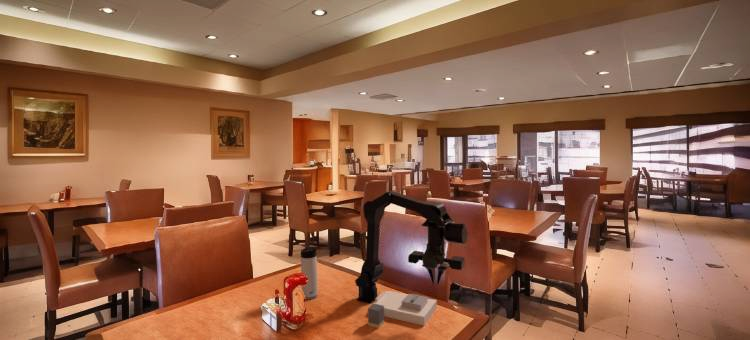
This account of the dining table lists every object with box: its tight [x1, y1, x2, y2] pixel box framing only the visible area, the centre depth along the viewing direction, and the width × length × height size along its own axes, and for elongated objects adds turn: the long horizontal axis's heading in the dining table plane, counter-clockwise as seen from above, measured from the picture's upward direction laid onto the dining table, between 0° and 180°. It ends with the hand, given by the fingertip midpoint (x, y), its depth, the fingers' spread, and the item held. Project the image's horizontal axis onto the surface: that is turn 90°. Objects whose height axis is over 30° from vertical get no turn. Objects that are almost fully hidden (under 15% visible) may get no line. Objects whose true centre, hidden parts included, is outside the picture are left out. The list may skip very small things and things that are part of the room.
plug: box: [367, 303, 385, 329], centre depth 116 cm, size 4×4×6 cm
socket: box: [372, 290, 438, 326], centre depth 126 cm, size 20×14×4 cm
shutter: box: [402, 293, 429, 311], centre depth 124 cm, size 7×7×3 cm
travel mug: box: [300, 246, 319, 301], centre depth 139 cm, size 6×7×20 cm
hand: (436, 284), depth 120 cm, fingers closed
